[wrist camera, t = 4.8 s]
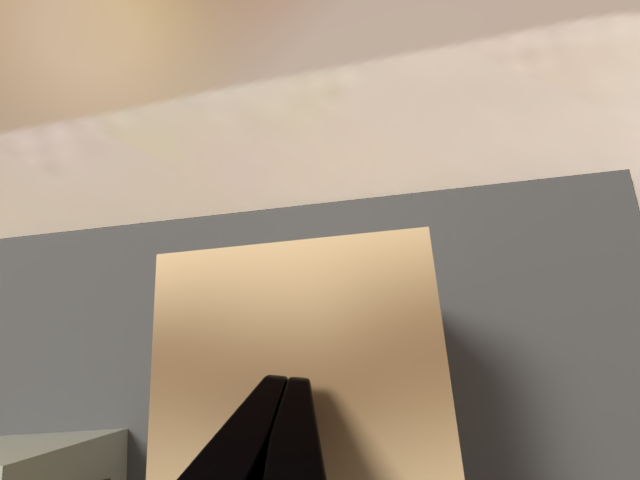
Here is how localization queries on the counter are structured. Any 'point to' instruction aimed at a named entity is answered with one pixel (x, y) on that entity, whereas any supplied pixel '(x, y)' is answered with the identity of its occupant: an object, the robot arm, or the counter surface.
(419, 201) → the slate rubber mat
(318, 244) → the plain maple block
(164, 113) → the counter surface
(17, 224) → the counter surface
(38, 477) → the brown paneled pale cube
